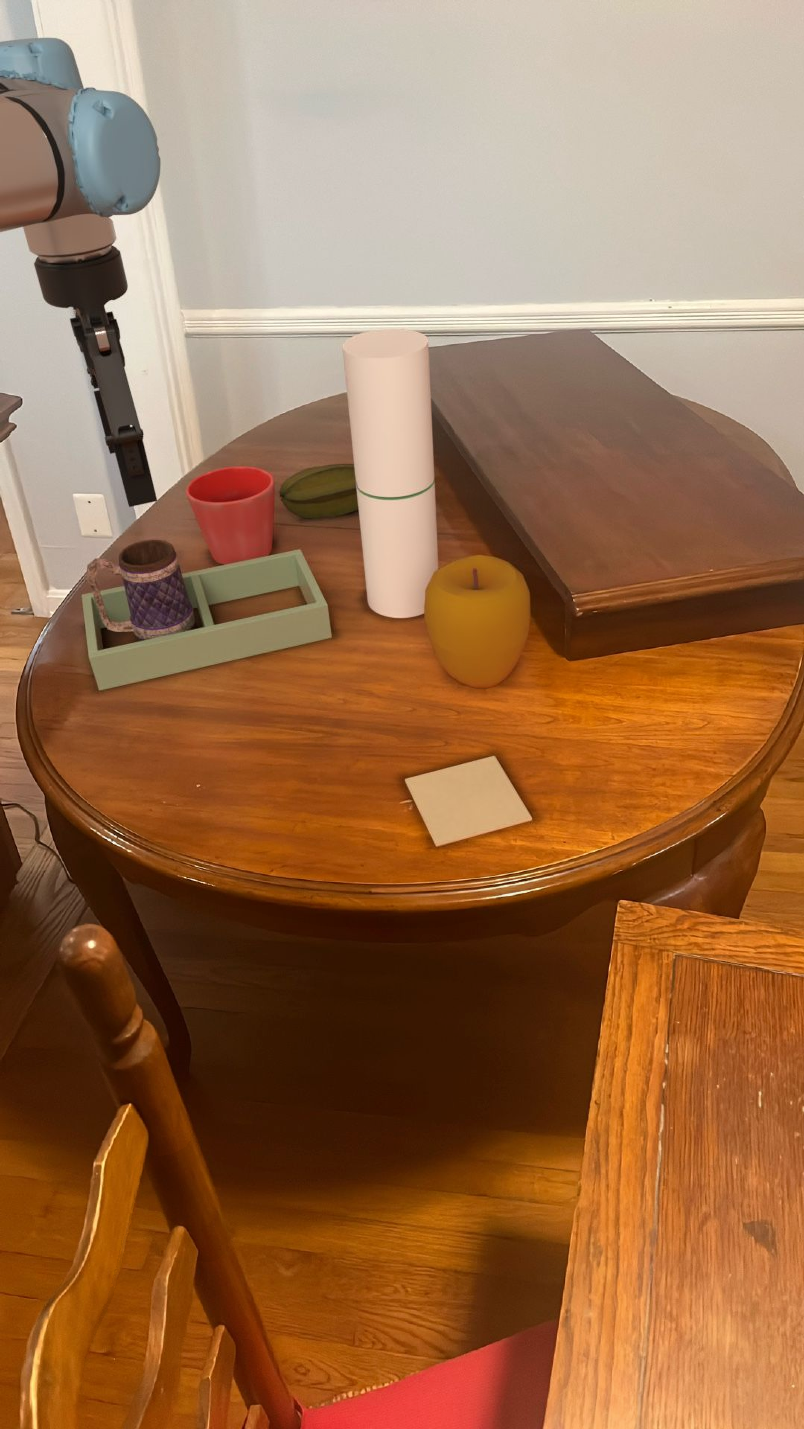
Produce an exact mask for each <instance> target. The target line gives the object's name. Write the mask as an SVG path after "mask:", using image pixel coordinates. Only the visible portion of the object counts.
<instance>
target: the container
mask: <svg viewBox="0 0 804 1429" xmlns="http://www.w3.org/2000/svg"><path fill="white" fill-rule="evenodd" d="M429 350H430V347H429V338H428V337H427V336H426V335H425V334H423V333H422V332H420V331H415V330H411V329H404V328H383V329H382V328H381V329H374V330H369V331H365V332H361V333H358V334H355V335H353V336H351V337H349V338H347V339H346V340H345V341H344V342H343V343H342V355H343V356H342V357H343V366H344V376H345V388H346V396H347V406H348V417H349V425H350V426H349V427H350V437H351V446H352V447H351V448H352V457H353V464H354V468H355V479H356V489H357V499H358V517H359V526H360V539H361V547H362V558H363V567H364V577H365V578H364V580H365V590H366V599H367V604H368V606H369V608H370V609H371V610H372V611H373V612H375V613H376V614H378V615H381V616H384V617H387V618H394V619H395V618H396V619H407V618H412V617H413V618H414V617H418V616H421V615H424V604H425V590H426V587H427V585H428V583H429V581H430V579H431V577H432V575H433V573H434V572H435V571H437V570H438V569H439V550H438V525H437V507H436V506H437V505H436V504H437V502H436V483H435V481H436V480H435V464H434V463H435V460H434V437H433V419H432V418H433V417H432V416H433V415H432V395H431V394H432V393H431V373H430V370H431V369H430V352H429Z"/></svg>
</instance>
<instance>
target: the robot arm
mask: <svg viewBox="0 0 804 1429" xmlns="http://www.w3.org/2000/svg"><path fill="white" fill-rule="evenodd" d="M159 151H160V148H159V145H158V136H157V134H156V131H155V128H154V126H153V124H152V121H151V119H150V117H149V116H148V114H147V112H145V110H144V108H143V107H142V106H141V105H140V104H139V103H138V102H137V101H135V99H134V98H132V97H130V96H128V95H127V94H125V93H123V92H120V91H114V90H103V89H102V90H100V89H97V88H96V87H92V86H91V87H85V88H84V84H83V80H82V77H81V75H80V70H79V67H78V64H77V61H76V57H75V54H74V52H73V49H72V47H71V46H70V45H69V43H67V42H66V41H64V40H63V39H61V38H58V37H32V38H19V39H12V40H4V41H3V40H2V41H0V233H4V232H7V231H12V230H16V229H19V228H22V229H23V232H24V235H25V240H26V243H27V247H28V250H29V252H30V253H32V254H34V255H35V256H37V257H36V258H35V261H34V262H33V266H34V269H35V273H36V275H37V280H38V284H39V288H40V291H41V294H42V298H43V300H44V301H45V303H47V305H49V306H52V307H55V308H60V309H69V308H72V309H73V313H74V317H71V318H69V322H70V326H71V329H72V333H73V336H74V337H75V341H76V344H77V346H78V347H79V350H80V353H81V354H82V356H83V358H84V362H85V365H86V372H87V375H89V377H90V384H91V386H92V387H93V389H94V391H93V394H94V398H95V402H96V406H97V410H98V414H99V417H100V422H101V426H102V428H103V432H104V441H105V445H106V447H107V448H108V452H109V454H110V455H111V454H115V458H116V459H115V460H116V463H117V466H118V470H119V474H120V478H121V482H122V485H123V489H124V493H125V497H126V500H127V505H128V507H129V508H131V507H132V508H133V507H136V506H140V505H141V506H142V505H146V504H150V503H154V502H155V503H156V502H158V497H157V494H156V489H155V485H154V482H153V477H152V473H151V469H150V464H149V461H148V460H149V459H148V455H147V452H146V447H145V443H144V436H145V434H144V429H142V427H141V424H140V420H139V416H138V414H137V408H136V406H135V403H134V399H133V394H132V391H131V388H130V384H129V383H130V382H129V380H128V376H127V373H126V369H125V367H126V357H125V355H124V351H123V347H122V344H121V341H120V340H121V332H120V331H121V329H120V327H119V324H118V320H117V318H115V315H114V313H113V311H106V308H105V305H106V304H108V303H109V302H111V301H116V300H118V299H120V298H121V297H123V296H124V295H125V294H126V293H127V291H128V287H129V285H128V284H129V283H128V280H127V275H126V272H125V266H124V262H123V258H122V254H121V253H122V252H121V250H119V249H118V248H117V246H114V243H115V242H116V241H117V234H116V229H115V224H114V221H113V220H112V219H111V217H113V216H128V215H134V214H137V213H139V212H141V211H143V209H145V208H146V207H147V206H148V205H149V204H150V202H151V200H153V198H154V196H155V194H156V191H157V188H158V186H159V182H160V177H161V156H160V155H159ZM95 389H98V390H95Z"/></svg>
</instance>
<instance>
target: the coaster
mask: <svg viewBox="0 0 804 1429" xmlns="http://www.w3.org/2000/svg"><path fill="white" fill-rule="evenodd" d="M404 782H405V784H406V786H407V788H408V791H409V793H410V795H411V797H412V799H413V801H414V803H415V805H416V808H417V810H418V812H419V814H420V817H421V818H422V820H423V822H424V824H425V826H426V828H427V830H428V833H429V835H430V837H431V839H432V842H433V843H434V845H435V847H436V848H437V847H441V846H444V845H447V844H451V843H454V842H459V841H461V840H465V839H466V840H467V839H469V838H473V837H476V836H479V835H480V836H481V835H484V834H487V833H491V832H494V831H495V832H496V831H498V830H502V829H504V828H505V829H506V828H509V827H513V826H516V825H519V824H520V825H521V824H523V823H528V822H531V821H533V817H532V815H531V814H530V811H528V808H527V807H526V805H525V804H524V802H523V800H522V799H521V797H520V795H519V794H518V792H517V790H516V788H515V787H514V785H513V784H512V782H511V780H510V779H509V777H508V775H507V773H506V772H505V770H504V769H503V767H502V766H501V764H500V762H499V761H498V759H497V757H496V755H491V756H487V757H484V758H480V759H476V760H473V761H469V762H464V763H462V764H457V765H452V766H449V767H446V768H442V769H438V770H434V771H430V772H426V773H422V774H419V775H415V776H411V777H407V778H405V779H404Z"/></svg>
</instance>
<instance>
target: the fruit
mask: <svg viewBox="0 0 804 1429" xmlns="http://www.w3.org/2000/svg"><path fill="white" fill-rule="evenodd" d="M278 493H279V498H280V501H281V502H282V504H283V505H284V507H285V508H286V509H287V510H288V511H289V512H290V513H292V514H294V515H296V516H298V517H301V518H304V519H313V520H315V519H317V520H318V519H324V518H325V519H326V518H335V517H342V516H344V515H347V514H350V513H353V512H357V511H359V509H358V499H357V489H356V479H355V468H354V463H334V464H327V465H321V466H312V467H308V468H305V469H302V470H300V471H298V472H296V473H294V474H293V475H291V476H290V477H288V478H287V479H286V480H285V481H283V482H282V483H281V485H280V488H279V491H278Z"/></svg>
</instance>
